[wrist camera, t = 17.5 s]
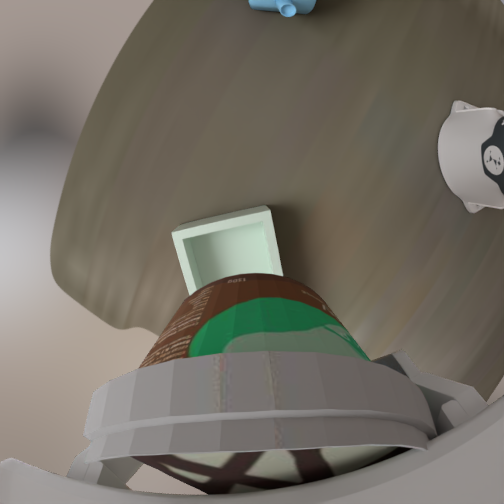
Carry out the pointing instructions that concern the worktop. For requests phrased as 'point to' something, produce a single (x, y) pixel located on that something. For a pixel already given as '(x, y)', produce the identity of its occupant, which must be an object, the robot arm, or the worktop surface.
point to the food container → (257, 394)
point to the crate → (227, 246)
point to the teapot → (284, 6)
